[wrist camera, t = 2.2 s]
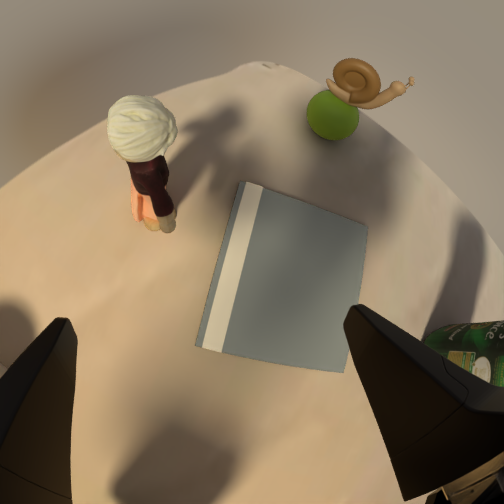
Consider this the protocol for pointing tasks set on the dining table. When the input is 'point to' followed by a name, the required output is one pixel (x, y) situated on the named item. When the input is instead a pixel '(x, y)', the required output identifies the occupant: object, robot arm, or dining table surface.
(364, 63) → the snail figurine
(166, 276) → the dining table surface
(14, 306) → the dining table surface
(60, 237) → the dining table surface
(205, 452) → the dining table surface
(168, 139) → the grandmother figurine
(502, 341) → the coffee jar
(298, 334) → the mat
